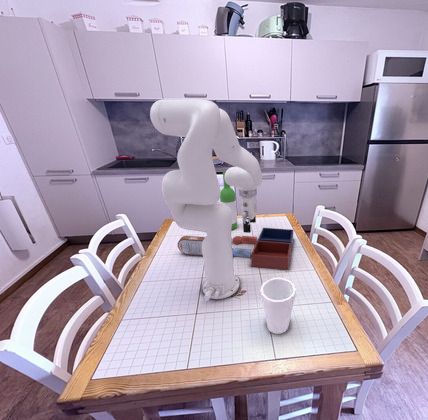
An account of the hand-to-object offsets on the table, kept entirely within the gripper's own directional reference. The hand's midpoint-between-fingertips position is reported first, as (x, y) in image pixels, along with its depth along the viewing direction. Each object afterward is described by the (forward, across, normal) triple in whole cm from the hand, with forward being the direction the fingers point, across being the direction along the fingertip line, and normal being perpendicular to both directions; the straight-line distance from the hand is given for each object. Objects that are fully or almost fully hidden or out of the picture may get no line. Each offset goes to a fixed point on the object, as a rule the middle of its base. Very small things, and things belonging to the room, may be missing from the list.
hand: (249, 227), depth 109 cm
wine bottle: (+8, +13, +15) cm, 21 cm away
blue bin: (+8, -1, -12) cm, 15 cm away
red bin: (+8, -13, -12) cm, 20 cm away
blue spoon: (+8, -12, +3) cm, 14 cm away
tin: (+8, -14, +21) cm, 26 cm away
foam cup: (+7, -45, -19) cm, 49 cm away
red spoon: (+8, -1, +3) cm, 8 cm away
